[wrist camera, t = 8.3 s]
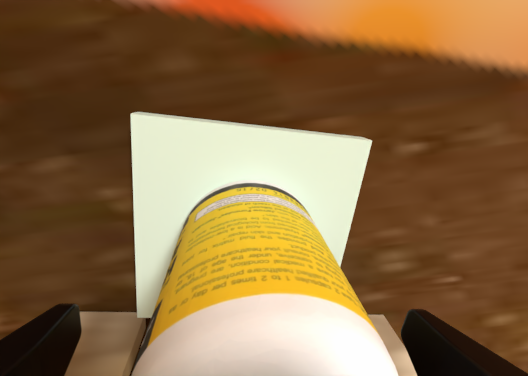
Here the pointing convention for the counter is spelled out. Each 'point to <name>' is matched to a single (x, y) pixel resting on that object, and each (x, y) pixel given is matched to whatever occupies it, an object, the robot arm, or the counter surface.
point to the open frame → (131, 333)
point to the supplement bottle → (257, 296)
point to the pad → (230, 170)
